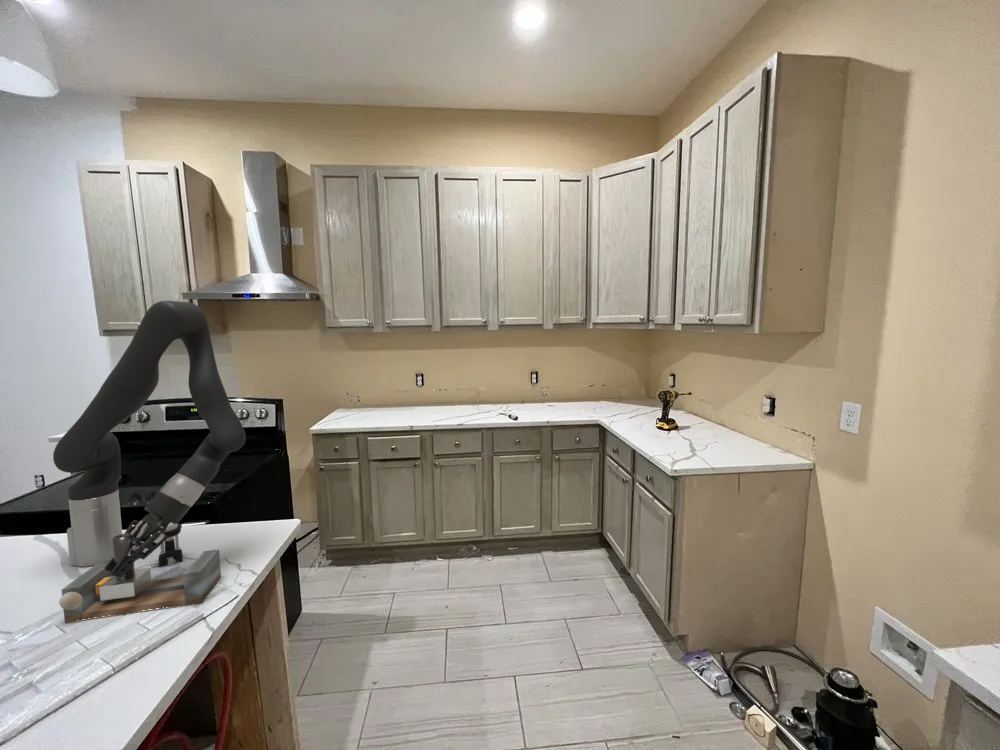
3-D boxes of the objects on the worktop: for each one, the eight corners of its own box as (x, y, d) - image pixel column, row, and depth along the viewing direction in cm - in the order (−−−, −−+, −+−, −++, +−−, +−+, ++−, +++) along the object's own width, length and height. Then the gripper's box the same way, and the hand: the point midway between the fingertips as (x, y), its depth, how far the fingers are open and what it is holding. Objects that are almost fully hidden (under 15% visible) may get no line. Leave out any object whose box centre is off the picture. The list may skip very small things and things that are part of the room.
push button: (150, 572, 101) (146, 533, 100) (151, 563, 105) (148, 525, 104) (184, 563, 105) (181, 525, 104) (184, 555, 109) (181, 518, 109)
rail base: (61, 624, 83) (58, 590, 82) (98, 593, 93) (95, 563, 92) (200, 604, 88) (198, 573, 88) (221, 577, 98) (218, 549, 98)
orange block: (96, 594, 87) (95, 585, 87) (105, 586, 90) (105, 577, 90) (105, 593, 87) (104, 584, 87) (114, 585, 90) (113, 576, 90)
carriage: (100, 600, 86) (95, 544, 85) (119, 584, 92) (114, 532, 91) (134, 596, 87) (129, 541, 86) (151, 580, 93) (146, 528, 92)
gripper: (148, 485, 98) (82, 558, 88) (175, 496, 91) (106, 576, 81) (177, 499, 103) (117, 570, 93) (204, 510, 96) (142, 588, 86)
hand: (112, 572), depth 87 cm, fingers closed on carriage, 3 cm apart
